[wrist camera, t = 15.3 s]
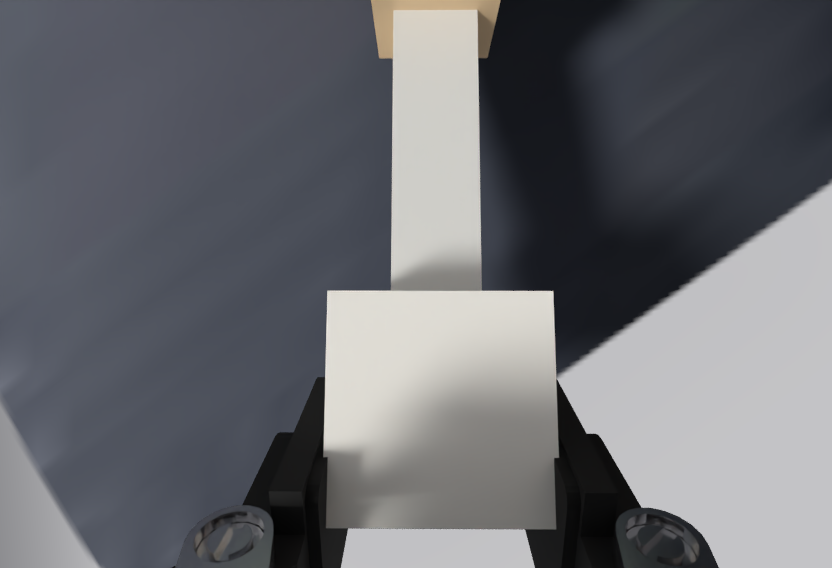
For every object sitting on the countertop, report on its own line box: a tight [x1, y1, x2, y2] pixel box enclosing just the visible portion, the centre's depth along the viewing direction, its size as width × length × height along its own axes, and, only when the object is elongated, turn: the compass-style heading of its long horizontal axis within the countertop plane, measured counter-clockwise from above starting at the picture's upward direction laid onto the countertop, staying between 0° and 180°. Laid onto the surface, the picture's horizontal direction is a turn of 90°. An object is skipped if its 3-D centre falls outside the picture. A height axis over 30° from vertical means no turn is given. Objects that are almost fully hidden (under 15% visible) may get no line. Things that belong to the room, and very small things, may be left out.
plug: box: [323, 0, 559, 530], centre depth 11 cm, size 14×4×4 cm, turn 179°
